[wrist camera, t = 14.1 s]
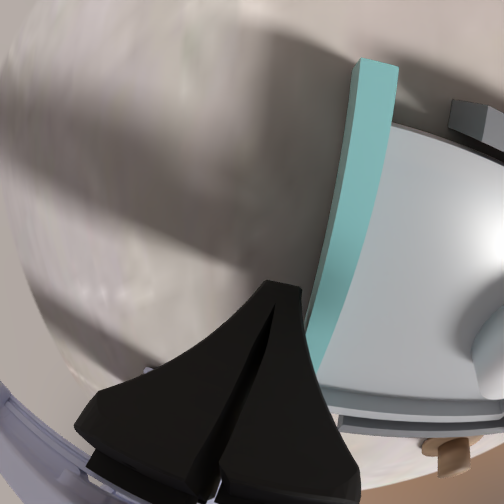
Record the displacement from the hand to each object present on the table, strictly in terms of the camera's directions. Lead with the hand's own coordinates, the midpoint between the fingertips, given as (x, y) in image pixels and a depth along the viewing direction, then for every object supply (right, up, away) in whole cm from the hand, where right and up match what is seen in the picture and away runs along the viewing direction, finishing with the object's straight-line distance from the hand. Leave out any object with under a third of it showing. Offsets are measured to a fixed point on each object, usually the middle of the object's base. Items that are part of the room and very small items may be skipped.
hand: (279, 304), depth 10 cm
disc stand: (+16, -14, +6) cm, 22 cm away
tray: (+8, -1, 0) cm, 8 cm away
